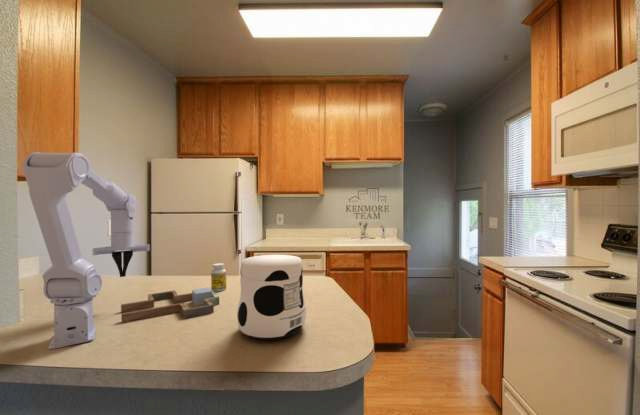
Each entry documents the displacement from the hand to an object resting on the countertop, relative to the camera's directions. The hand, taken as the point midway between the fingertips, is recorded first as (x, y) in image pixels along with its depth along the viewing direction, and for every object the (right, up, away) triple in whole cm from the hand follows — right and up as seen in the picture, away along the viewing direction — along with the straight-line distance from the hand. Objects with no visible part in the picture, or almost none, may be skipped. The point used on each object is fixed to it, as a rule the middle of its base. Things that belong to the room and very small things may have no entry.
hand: (122, 276), depth 91 cm
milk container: (+49, -10, -16) cm, 52 cm away
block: (+22, -10, +5) cm, 25 cm away
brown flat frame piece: (+15, -10, 0) cm, 18 cm away
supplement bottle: (+23, -10, +20) cm, 32 cm away
